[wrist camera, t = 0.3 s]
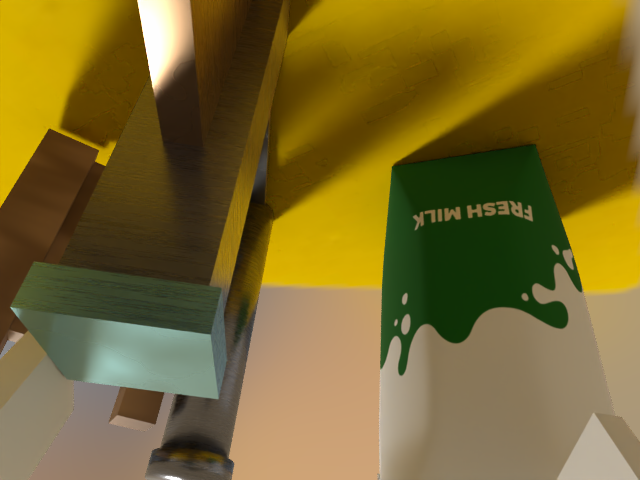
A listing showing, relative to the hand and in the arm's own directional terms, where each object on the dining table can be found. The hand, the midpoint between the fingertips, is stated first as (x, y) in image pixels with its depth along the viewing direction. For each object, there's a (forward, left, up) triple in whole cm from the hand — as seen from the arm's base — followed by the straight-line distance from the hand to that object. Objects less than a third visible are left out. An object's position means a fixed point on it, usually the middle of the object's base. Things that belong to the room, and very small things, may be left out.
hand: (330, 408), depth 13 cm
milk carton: (+7, +7, -15) cm, 18 cm away
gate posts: (+2, -5, -15) cm, 16 cm away
